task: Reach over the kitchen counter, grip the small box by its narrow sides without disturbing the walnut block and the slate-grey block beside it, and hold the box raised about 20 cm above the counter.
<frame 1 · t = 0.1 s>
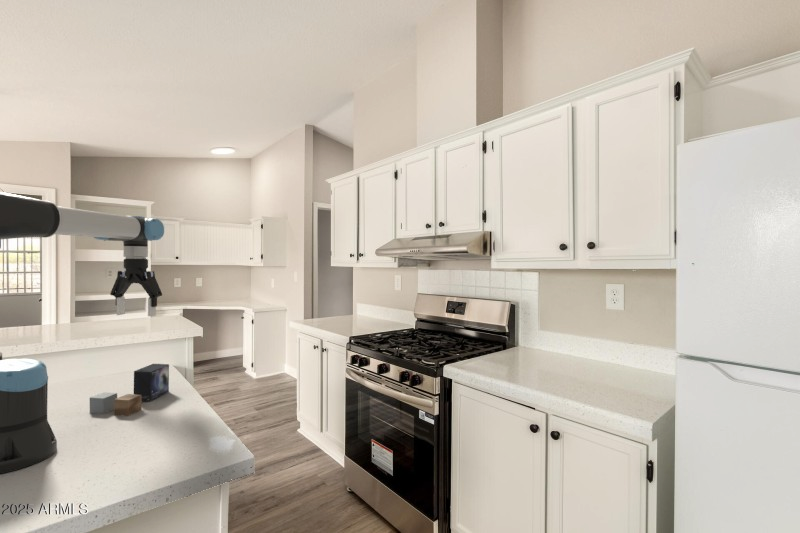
hand: (136, 315, 144), 28 cm above the kitchen island, tool pointing down, fingers open, 13 cm apart
slate-grey block: (103, 410, 125), on the kitchen island
walnut block: (128, 412, 123), on the kitchen island
small box: (151, 397, 138), on the kitchen island
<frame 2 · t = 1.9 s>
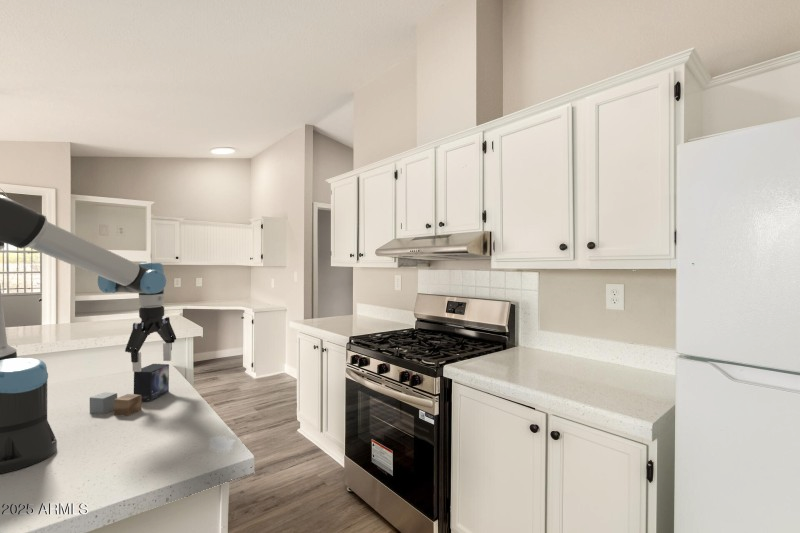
hand: (152, 365, 138), 11 cm above the kitchen island, tool pointing down, fingers open, 13 cm apart
nothing on the kitchen island moved.
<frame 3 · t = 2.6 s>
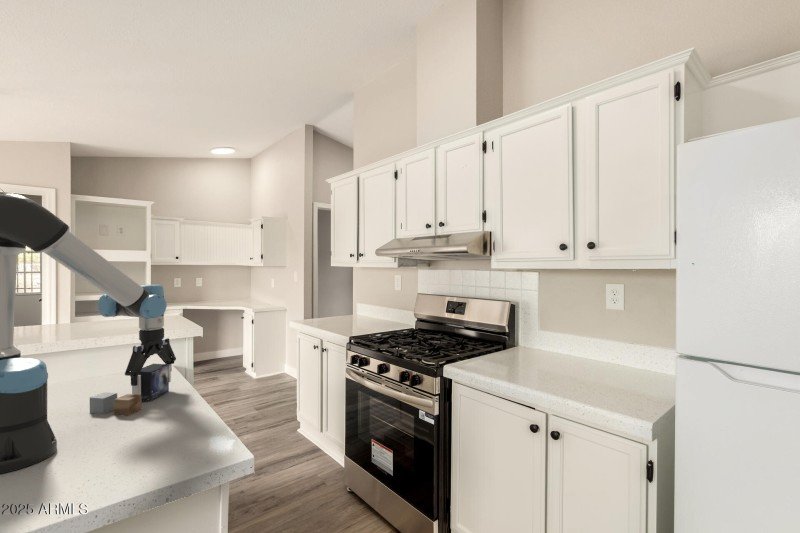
hand: (152, 387, 138), 3 cm above the kitchen island, tool pointing down, fingers open, 13 cm apart
nothing on the kitchen island moved.
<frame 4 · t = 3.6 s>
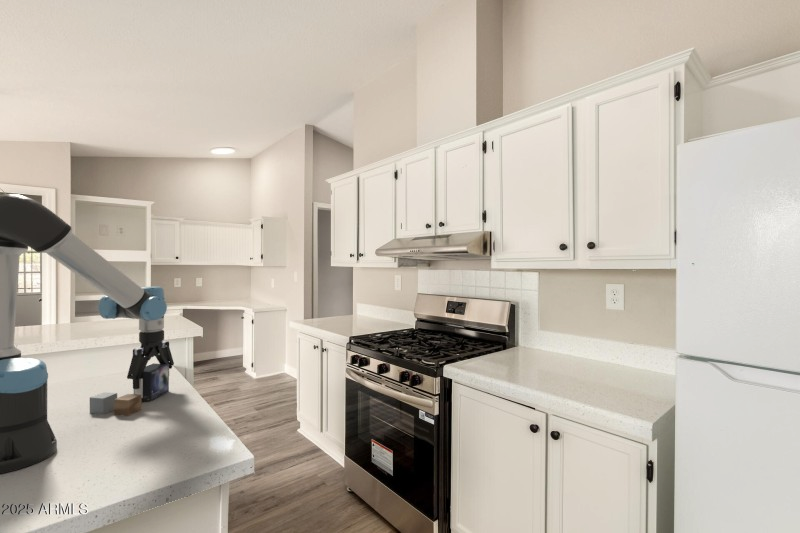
hand: (152, 392, 138), 2 cm above the kitchen island, tool pointing down, fingers closed on small box, 11 cm apart
small box: (152, 397, 138), on the kitchen island, touching gripper
everything else where it was.
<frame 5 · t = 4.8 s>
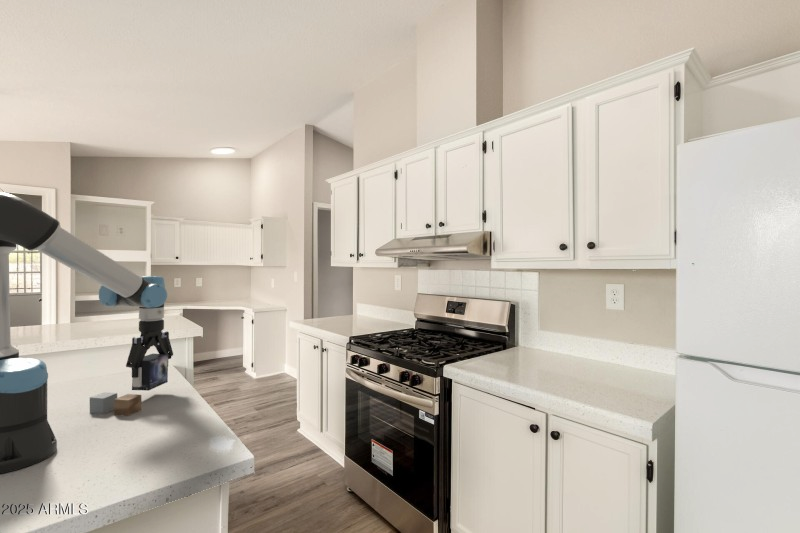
hand: (150, 381, 137), 5 cm above the kitchen island, tool pointing down, fingers closed on small box, 11 cm apart
small box: (150, 386, 137), point 4 cm above the kitchen island, touching gripper
everything else where it was.
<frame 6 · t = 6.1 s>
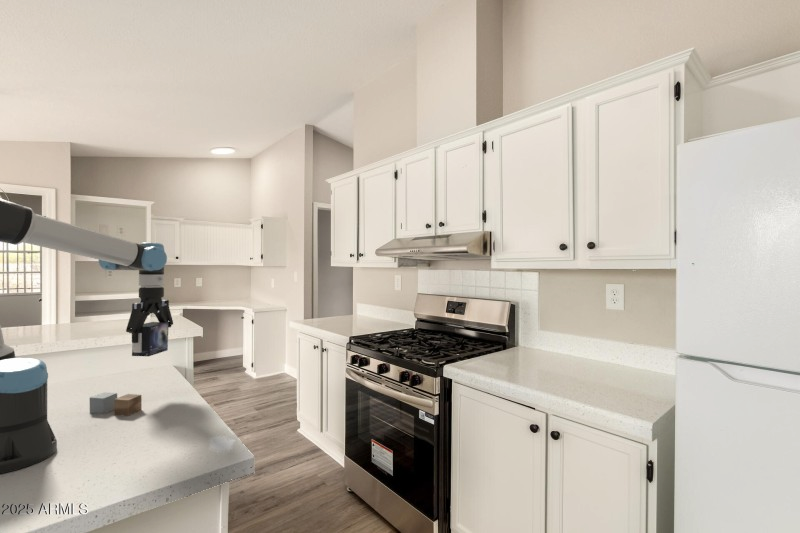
hand: (150, 348, 137), 17 cm above the kitchen island, tool pointing down, fingers closed on small box, 11 cm apart
small box: (150, 353, 137), point 15 cm above the kitchen island, touching gripper
everything else where it was.
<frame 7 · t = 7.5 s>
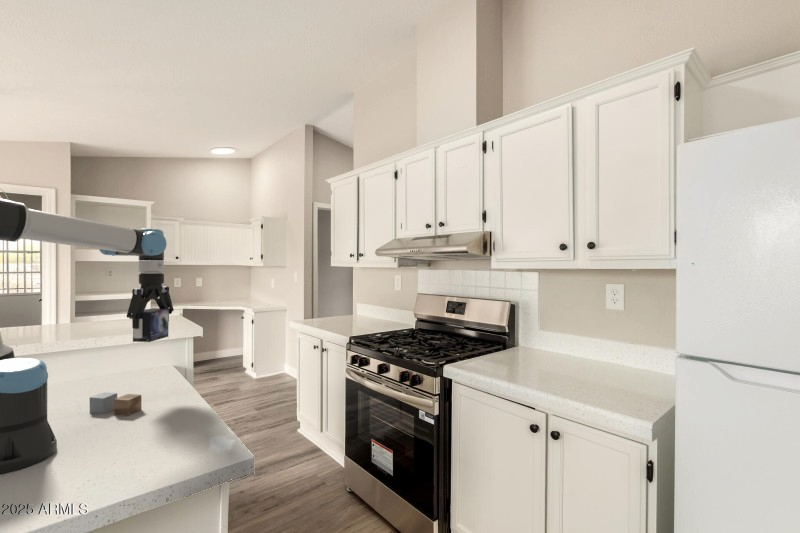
hand: (151, 334, 138), 22 cm above the kitchen island, tool pointing down, fingers closed on small box, 11 cm apart
small box: (151, 339, 138), point 20 cm above the kitchen island, touching gripper
everything else where it was.
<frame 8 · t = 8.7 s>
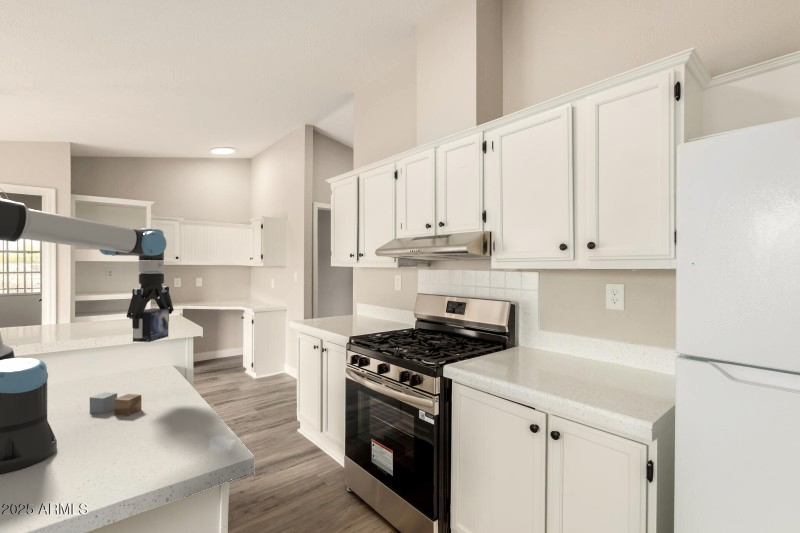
hand: (151, 334, 138), 22 cm above the kitchen island, tool pointing down, fingers closed on small box, 11 cm apart
small box: (151, 339, 138), point 20 cm above the kitchen island, touching gripper
everything else where it was.
at the end: the gripper is holding small box; small box point 20.1 cm above the kitchen island; walnut block moved 0.1 cm from its start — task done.
